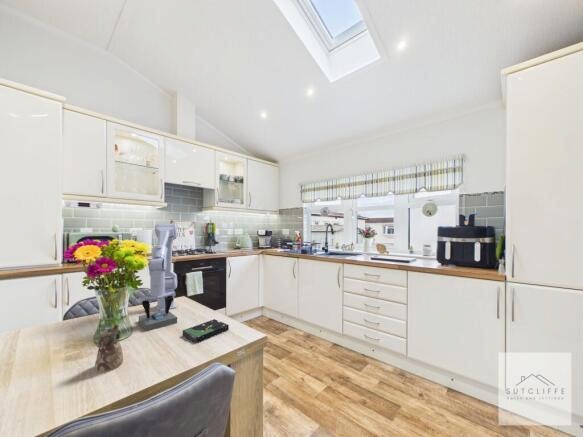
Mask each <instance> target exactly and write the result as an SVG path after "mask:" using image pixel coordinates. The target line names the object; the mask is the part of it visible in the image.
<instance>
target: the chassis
mask: <svg viewBox="0 0 583 437" xmlns="http://www.w3.org/2000/svg"><path fill="white" fill-rule="evenodd" d="M155 312H156V311H155ZM155 312H151V313H150V318H147V316H146V313H145V314H140V315H138V322H139V324H140V325H141V326H142V327H143V328H144V330H145V331H146V332H149V331H153V330H156V329H159V328H160V329H161V328H163V327H167V326H171V325H175V324H178V317H177V316H176V315H175V314H174V313H172V312H171V311H170V310H169V313H168V314H166V313H165V310H162V311H160V310H159V311H158V310H157V312H161V313H162V314H163V317H164V319H160V320H154V319H153V316H152V314H153V313H155Z"/></svg>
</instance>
